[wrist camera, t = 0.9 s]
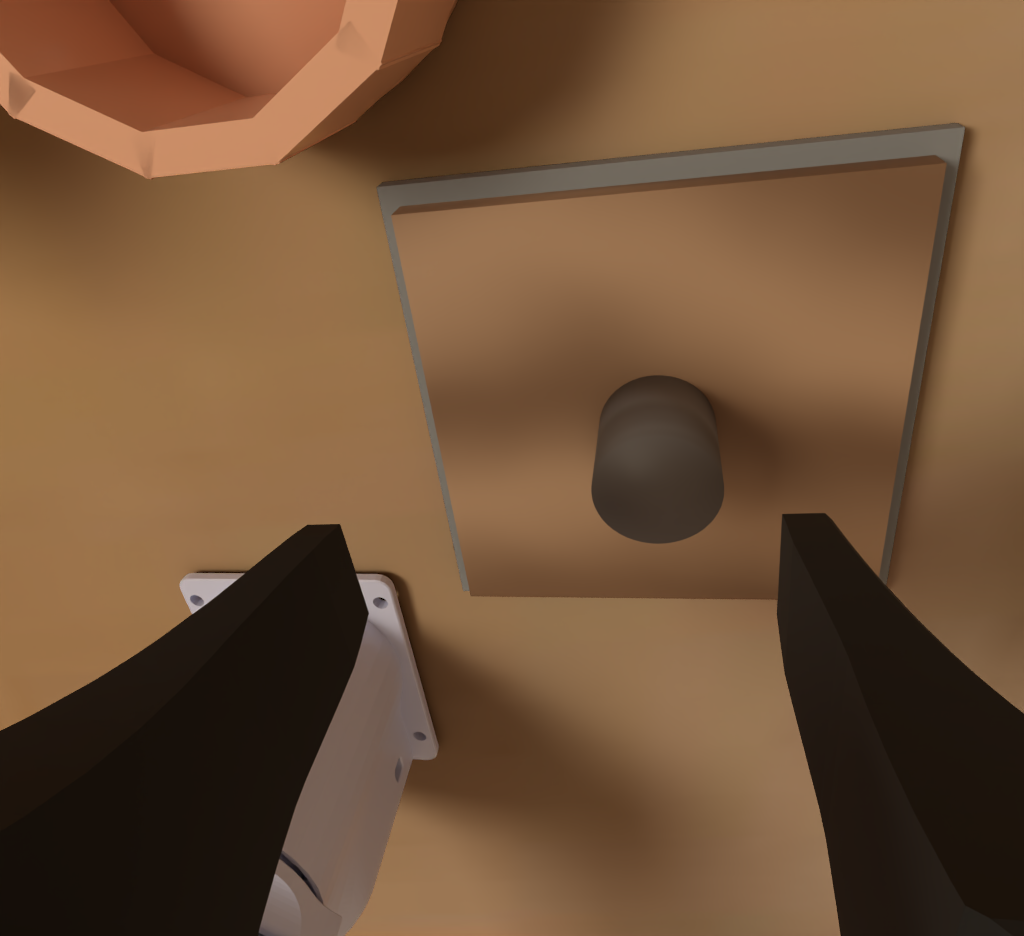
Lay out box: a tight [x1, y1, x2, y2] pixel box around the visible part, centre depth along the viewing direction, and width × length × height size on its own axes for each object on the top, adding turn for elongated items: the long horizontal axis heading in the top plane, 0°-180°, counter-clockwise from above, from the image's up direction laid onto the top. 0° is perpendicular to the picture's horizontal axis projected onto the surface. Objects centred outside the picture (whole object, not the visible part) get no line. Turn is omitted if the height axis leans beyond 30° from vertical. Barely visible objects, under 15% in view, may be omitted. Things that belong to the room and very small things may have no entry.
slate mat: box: [377, 123, 965, 591], centre depth 21 cm, size 13×13×1 cm
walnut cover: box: [391, 155, 947, 600], centre depth 19 cm, size 12×12×4 cm
